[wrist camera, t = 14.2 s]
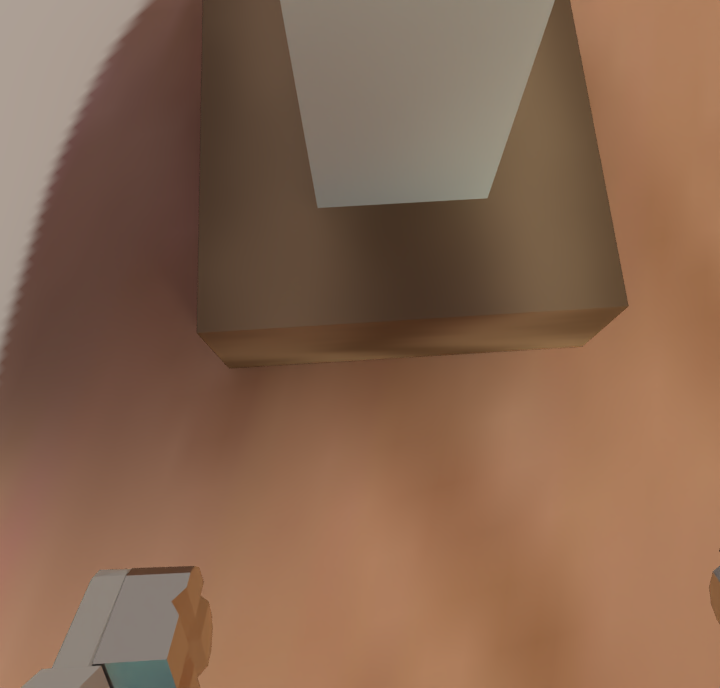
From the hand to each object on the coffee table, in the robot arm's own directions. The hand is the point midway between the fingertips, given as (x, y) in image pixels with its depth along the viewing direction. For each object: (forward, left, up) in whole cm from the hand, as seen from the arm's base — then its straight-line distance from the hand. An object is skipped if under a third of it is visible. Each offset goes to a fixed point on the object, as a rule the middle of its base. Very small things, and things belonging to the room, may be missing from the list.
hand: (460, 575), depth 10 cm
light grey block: (0, -12, -6) cm, 14 cm away
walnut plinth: (0, -12, -10) cm, 16 cm away
